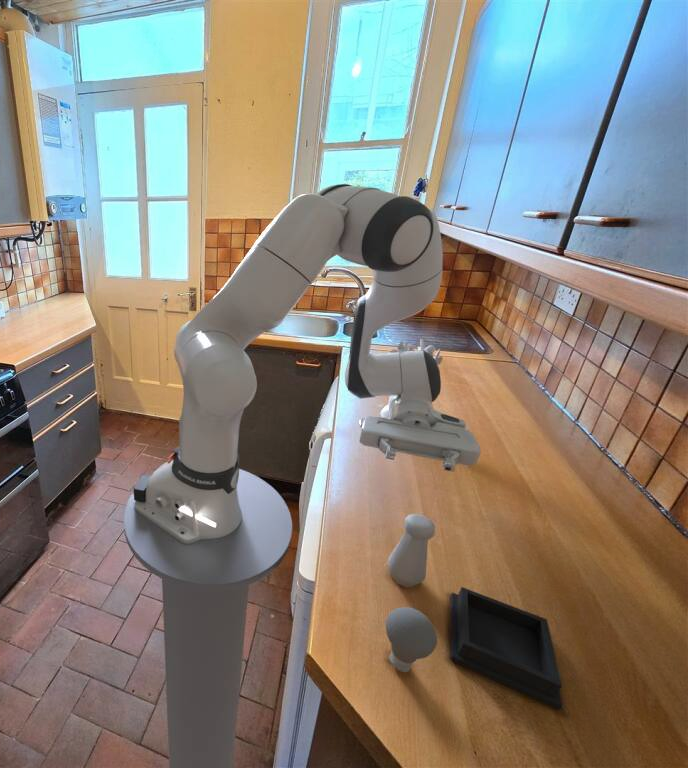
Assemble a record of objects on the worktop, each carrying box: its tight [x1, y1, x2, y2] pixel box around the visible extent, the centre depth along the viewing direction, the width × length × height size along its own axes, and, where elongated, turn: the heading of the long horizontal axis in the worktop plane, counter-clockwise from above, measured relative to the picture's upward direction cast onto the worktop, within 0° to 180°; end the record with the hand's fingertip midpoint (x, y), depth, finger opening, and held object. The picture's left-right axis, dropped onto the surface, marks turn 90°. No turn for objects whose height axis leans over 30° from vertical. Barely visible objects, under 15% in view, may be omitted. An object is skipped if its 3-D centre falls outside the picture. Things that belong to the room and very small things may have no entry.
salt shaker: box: [387, 513, 436, 589], centre depth 68 cm, size 6×6×13 cm
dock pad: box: [449, 586, 563, 711], centre depth 59 cm, size 12×12×4 cm
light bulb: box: [385, 606, 438, 673], centre depth 55 cm, size 6×6×10 cm
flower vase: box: [380, 338, 443, 419], centre depth 110 cm, size 13×18×25 cm
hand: (419, 461), depth 74 cm, fingers open, 8 cm apart
